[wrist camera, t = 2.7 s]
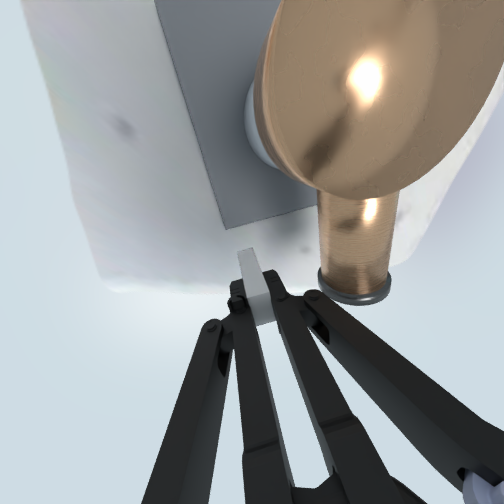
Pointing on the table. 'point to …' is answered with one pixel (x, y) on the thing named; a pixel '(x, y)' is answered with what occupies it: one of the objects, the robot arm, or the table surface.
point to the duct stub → (229, 103)
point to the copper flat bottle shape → (370, 113)
